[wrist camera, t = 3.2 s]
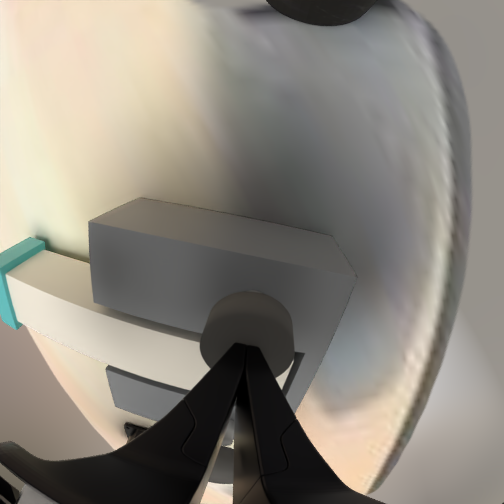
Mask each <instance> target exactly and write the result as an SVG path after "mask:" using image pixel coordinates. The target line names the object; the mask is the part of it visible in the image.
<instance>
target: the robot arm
mask: <svg viewBox="0 0 504 504" xmlns="http://www.w3.org/2000/svg"><path fill="white" fill-rule="evenodd" d="M235 401H236V403H235ZM234 405H235V428H234V468H233V504H385V503H383V502H380V501H378V500H375V499H372V498H370V497H367V496H365V495H363V494H360V493H358V492H356V491H354V490H352V489H351V488H349V487H348V486H346V485H345V484H344V483H343V482H342V481H341V480H340V479H339V478H338V476H337V475H336V474H335V473H334V471H333V470H332V469H331V468H330V466H329V465H328V464H327V463H326V461H325V460H324V459H323V457H322V456H321V455H320V454H319V452H318V451H317V450H316V448H315V447H314V445H313V444H312V443H311V441H310V440H309V438H308V437H307V435H306V433H305V432H304V430H303V428H302V427H301V425H300V423H299V421H298V420H297V419H296V416H295V414H294V412H293V410H292V408H291V407H290V405H289V403H288V401H287V399H286V397H285V395H284V394H283V392H282V390H281V388H280V386H279V384H278V382H277V380H276V378H275V376H274V375H273V373H272V371H271V369H270V367H269V365H268V363H267V361H266V359H265V357H264V355H263V353H262V351H261V349H260V348H259V347H258V346H253V345H247V346H246V344H242V343H237V342H235V343H234V344H233V345H232V346H231V347H230V348H229V349H228V350H227V351H226V352H225V354H224V355H223V356H222V357H221V358H220V359H219V360H218V361H217V362H216V363H215V365H214V366H213V367H212V368H211V369H210V370H209V371H208V372H207V373H206V374H205V375H204V376H203V378H202V379H201V380H200V381H199V382H198V383H197V384H196V385H195V386H194V387H193V388H192V389H191V390H190V391H189V392H188V393H187V395H186V396H185V397H184V398H183V400H181V401H180V402H179V403H178V404H177V405H176V406H175V407H174V408H173V409H172V410H171V411H170V412H168V413H167V414H166V415H165V416H164V417H163V418H162V419H160V420H159V421H158V422H156V423H155V424H154V425H153V426H151V427H150V428H148V429H147V430H145V429H142V428H139V427H136V426H134V425H131V424H128V423H125V425H124V428H125V431H126V434H127V437H128V441H127V443H126V445H124V446H122V447H121V448H119V449H117V450H115V451H113V452H110V453H106V454H102V455H96V456H90V457H84V458H77V459H69V460H60V461H49V460H43V459H40V458H37V457H36V456H34V455H32V454H30V453H29V452H28V451H26V450H25V449H23V448H22V447H21V446H19V445H18V444H16V443H15V442H12V441H8V442H3V443H0V463H1V464H2V465H3V466H5V467H6V468H7V469H8V470H9V471H10V472H11V473H13V474H14V475H15V476H16V477H18V478H19V479H20V480H21V481H23V482H24V483H25V485H24V487H23V489H22V491H21V493H19V491H18V490H17V489H16V488H15V487H13V486H12V485H11V484H9V483H8V482H7V481H6V480H5V479H4V478H2V477H1V476H0V504H200V502H201V499H202V497H203V494H204V491H205V488H206V486H207V483H208V480H209V478H210V475H211V472H212V469H213V466H214V464H215V461H216V458H217V455H218V452H219V449H220V447H221V444H222V441H223V438H224V435H225V432H226V429H227V426H228V423H229V420H230V417H231V414H232V411H233V408H234ZM502 504H504V503H502Z"/></svg>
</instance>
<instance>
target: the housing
mask: <svg viewBox="0 0 504 504" xmlns="http://www.w3.org/2000/svg"><path fill="white" fill-rule="evenodd" d="M88 223H89V256H90V271H91V283H92V293H93V301H94V303H97V304H99V305H102V306H105V307H108V308H111V309H115V310H118V311H121V312H124V313H127V314H131V315H134V316H137V317H141V318H144V319H147V320H151V321H154V322H158V323H162V324H165V325H169V326H173V327H177V328H181V329H185V330H189V331H193V332H197V333H201V334H202V333H203V330H204V327H205V325H206V322H207V319H208V316H209V314H210V311H211V309H212V308H213V306H214V305H215V304H216V303H217V302H218V301H219V300H221V299H222V298H224V297H226V296H228V295H230V294H233V293H237V292H245V291H250V292H259V293H263V294H266V295H268V296H271V297H273V298H274V299H276V300H277V301H279V302H280V303H281V304H282V305H283V306H284V307H285V308H286V309H287V311H288V312H289V314H290V316H291V319H292V324H293V335H294V347H295V354H294V362H293V364H292V366H291V369H290V371H289V374H288V376H287V378H286V381H285V383H284V385H283V388H282V392H283V394H284V395H285V397H286V399H287V401H288V403H289V405H290V407H291V408H292V410H293V412H294V414H295V412H296V410H297V408H298V407H299V405H300V403H301V401H302V399H303V397H304V396H305V394H306V392H307V390H308V388H309V386H310V384H311V382H312V380H313V378H314V376H315V374H316V372H317V370H318V368H319V366H320V364H321V362H322V360H323V358H324V356H325V353H326V351H327V349H328V347H329V345H330V343H331V340H332V338H333V336H334V334H335V331H336V329H337V327H338V325H339V322H340V320H341V317H342V315H343V313H344V310H345V308H346V305H347V303H348V300H349V298H350V295H351V293H352V290H353V288H354V285H355V282H356V280H357V276H356V274H355V272H354V271H353V269H352V267H351V266H350V264H349V262H348V261H347V259H346V257H345V256H344V254H343V252H342V251H341V249H340V248H339V246H338V244H337V243H336V241H335V240H334V238H333V237H332V236H330V235H326V234H321V233H317V232H312V231H308V230H304V229H299V228H294V227H290V226H285V225H281V224H276V223H271V222H266V221H262V220H257V219H252V218H247V217H242V216H237V215H232V214H227V213H222V212H217V211H212V210H206V209H201V208H196V207H190V206H185V205H179V204H174V203H168V202H162V201H157V200H151V199H145V198H137V199H135V200H133V201H130V202H128V203H126V204H124V205H122V206H119V207H117V208H115V209H113V210H111V211H109V212H107V213H104V214H102V215H100V216H98V217H96V218H94V219H92V220H90V221H88ZM106 374H107V378H108V382H109V386H110V389H111V393H112V397H113V400H114V404H115V407H118V408H120V409H123V410H125V411H128V412H131V413H134V414H137V415H139V416H142V417H145V418H148V419H151V420H155V421H159V420H160V419H162V418H163V417H164V416H165V415H166V414H167V413H168V412H170V411H171V410H172V409H173V408H174V407H175V406H176V405H177V404H178V403H179V402H180V401H181V400H183V398H184V397H185V396H186V395H187V393H188V392H189V391H190V390H187V389H183V388H179V387H176V386H172V385H168V384H165V383H161V382H158V381H155V380H152V379H148V378H145V377H142V376H139V375H136V374H133V373H130V372H127V371H125V370H122V369H119V368H116V367H114V366H111V365H108V366H107V367H106ZM235 403H236V401H235ZM234 428H235V405H234V408H233V411H232V414H231V417H230V420H229V423H228V426H227V429H226V432H225V435H224V438H223V441H222V444H221V446H228V445H231V444H232V442H233V439H234Z"/></svg>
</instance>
